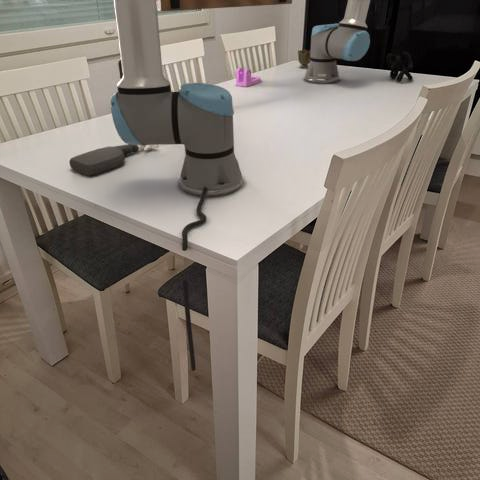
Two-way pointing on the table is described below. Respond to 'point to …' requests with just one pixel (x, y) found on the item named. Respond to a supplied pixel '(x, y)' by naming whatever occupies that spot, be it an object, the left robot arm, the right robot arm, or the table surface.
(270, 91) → the table surface
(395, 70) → the squiggle
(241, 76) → the bracket
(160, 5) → the bar
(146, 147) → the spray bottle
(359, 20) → the right robot arm
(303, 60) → the cup
